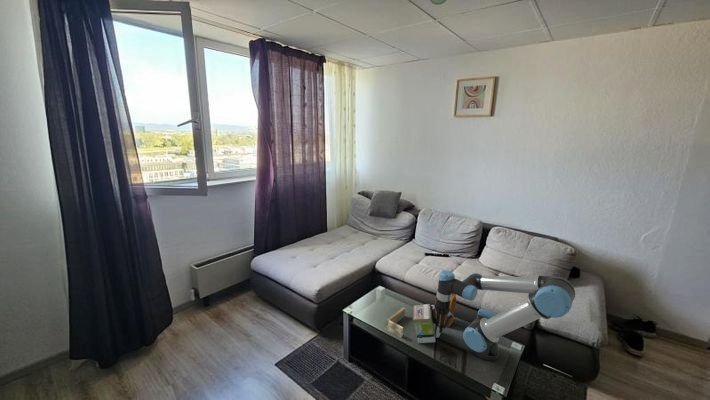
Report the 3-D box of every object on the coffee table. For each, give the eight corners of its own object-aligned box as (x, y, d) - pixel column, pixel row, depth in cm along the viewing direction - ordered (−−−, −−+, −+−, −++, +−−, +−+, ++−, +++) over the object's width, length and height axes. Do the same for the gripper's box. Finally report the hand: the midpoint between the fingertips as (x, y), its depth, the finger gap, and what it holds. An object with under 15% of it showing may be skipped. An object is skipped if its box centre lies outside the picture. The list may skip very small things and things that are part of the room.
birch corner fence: (417, 322, 178) (418, 314, 176) (401, 337, 163) (401, 328, 162) (402, 315, 184) (402, 307, 183) (385, 329, 170) (386, 320, 169)
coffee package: (437, 313, 189) (441, 282, 184) (455, 322, 180) (460, 290, 175) (429, 319, 182) (433, 287, 177) (447, 329, 173) (452, 296, 169)
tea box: (436, 342, 157) (431, 318, 155) (417, 343, 159) (412, 319, 157) (434, 325, 171) (429, 303, 169) (417, 327, 174) (412, 304, 172)
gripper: (457, 300, 154) (451, 338, 160) (435, 291, 162) (430, 327, 168) (452, 306, 149) (446, 345, 154) (429, 296, 157) (424, 333, 162)
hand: (437, 336), depth 161 cm, fingers closed
